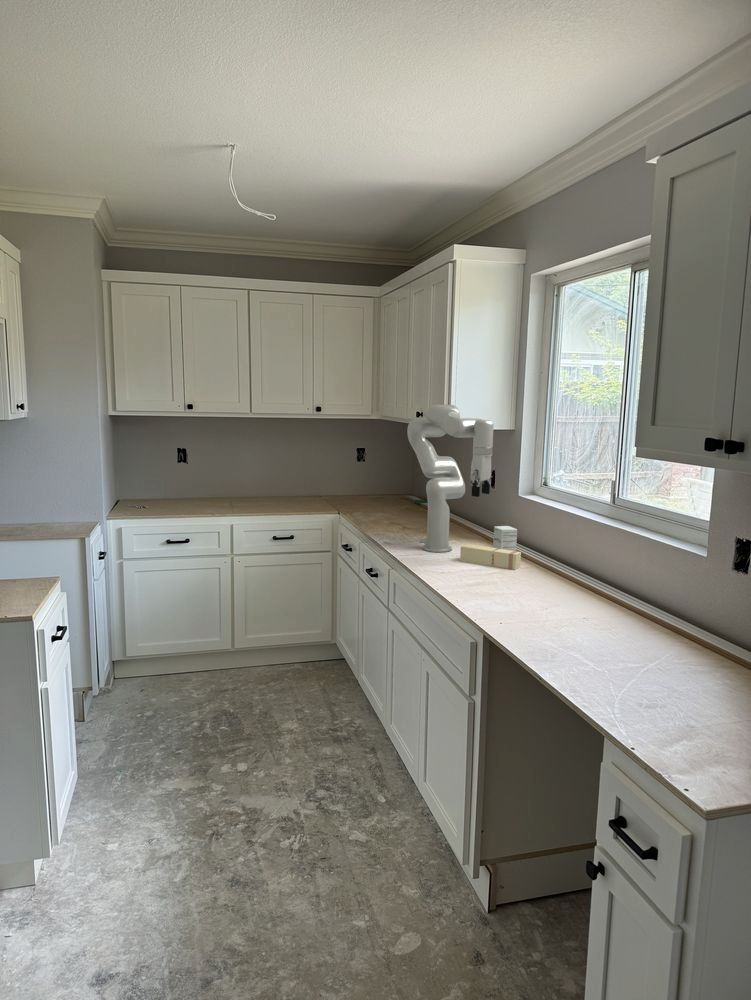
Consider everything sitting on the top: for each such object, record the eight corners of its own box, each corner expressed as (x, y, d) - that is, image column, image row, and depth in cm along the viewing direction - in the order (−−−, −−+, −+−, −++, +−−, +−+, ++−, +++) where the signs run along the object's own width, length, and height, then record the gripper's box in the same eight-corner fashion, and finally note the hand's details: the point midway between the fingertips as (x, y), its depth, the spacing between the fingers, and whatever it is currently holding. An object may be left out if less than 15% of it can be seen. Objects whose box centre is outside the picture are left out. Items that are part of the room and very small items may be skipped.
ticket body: (459, 561, 273) (460, 546, 272) (465, 558, 277) (466, 543, 276) (492, 566, 265) (493, 551, 264) (497, 564, 270) (498, 548, 269)
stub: (493, 566, 265) (494, 551, 264) (498, 563, 270) (499, 548, 269) (515, 570, 260) (515, 554, 259) (520, 567, 265) (521, 551, 264)
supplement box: (492, 555, 287) (493, 526, 285) (507, 554, 289) (509, 525, 287) (500, 559, 280) (501, 529, 278) (516, 558, 282) (517, 528, 280)
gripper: (482, 449, 273) (480, 491, 276) (464, 452, 258) (462, 496, 261) (500, 450, 269) (497, 493, 272) (482, 453, 255) (480, 498, 257)
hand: (480, 494), depth 266 cm, fingers open, 9 cm apart
